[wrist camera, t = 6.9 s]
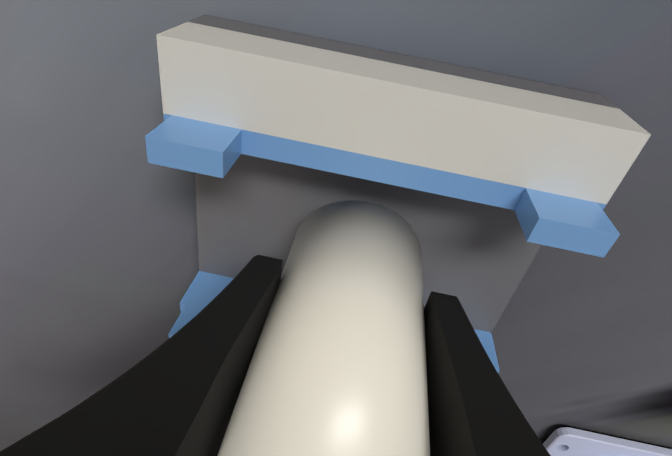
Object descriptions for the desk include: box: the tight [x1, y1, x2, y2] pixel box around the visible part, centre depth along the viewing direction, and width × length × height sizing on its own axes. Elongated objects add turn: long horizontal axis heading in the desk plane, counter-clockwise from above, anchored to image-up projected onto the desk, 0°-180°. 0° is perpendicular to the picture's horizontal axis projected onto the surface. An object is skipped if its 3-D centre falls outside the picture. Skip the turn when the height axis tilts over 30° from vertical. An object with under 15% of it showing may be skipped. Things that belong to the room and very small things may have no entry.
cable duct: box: [145, 15, 651, 372], centre depth 15 cm, size 20×10×4 cm, turn 171°
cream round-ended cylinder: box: [217, 200, 430, 456], centre depth 9 cm, size 4×4×8 cm
